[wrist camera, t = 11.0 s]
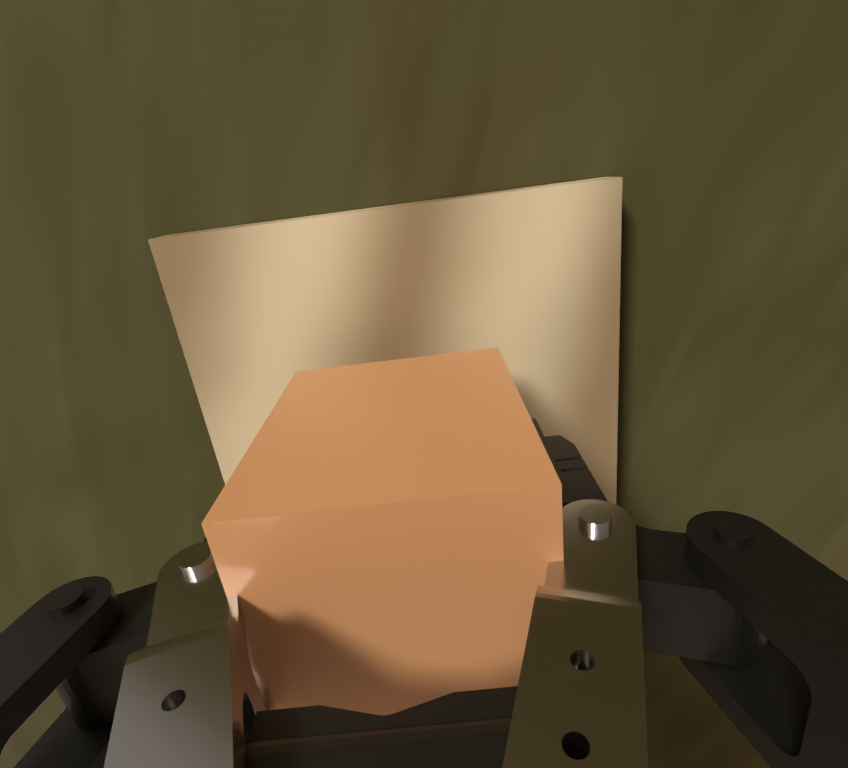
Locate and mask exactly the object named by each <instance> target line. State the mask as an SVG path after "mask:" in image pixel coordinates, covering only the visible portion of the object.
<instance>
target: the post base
mask: <svg viewBox="0 0 848 768" xmlns="http://www.w3.org/2000/svg"><path fill="white" fill-rule="evenodd" d="M621 225H622V177H601V178H593V179H586V180H578V181H571V182H563V183H556V184H548V185H540V186H533V187H525V188H518V189H510V190H503V191H495V192H487V193H480V194H472V195H465V196H457V197H450V198H442V199H434V200H427V201H419V202H412V203H404V204H397V205H389V206H382V207H374V208H366V209H359V210H351V211H344V212H336V213H329V214H321V215H313V216H306V217H298V218H291V219H283V220H276V221H268V222H260V223H253V224H245V225H238V226H230V227H223V228H215V229H208V230H200V231H192V232H185V233H177V234H170V235H165V236H161V237H157V238H152V239H148V242H149V245H150V248H151V251H152V254H153V257H154V261H155V264H156V267H157V270H158V273H159V276H160V280H161V283H162V286H163V289H164V292H165V295H166V299H167V302H168V305H169V308H170V311H171V314H172V318H173V321H174V324H175V327H176V330H177V333H178V337H179V340H180V343H181V346H182V349H183V352H184V356H185V359H186V362H187V365H188V368H189V371H190V375H191V378H192V381H193V384H194V387H195V390H196V394H197V397H198V400H199V403H200V406H201V409H202V413H203V416H204V419H205V422H206V425H207V428H208V432H209V435H210V438H211V441H212V444H213V447H214V451H215V454H216V457H217V460H218V463H219V466H220V470H221V473H222V476H223V479H224V482H225V485H226V483H227V482H228V480H229V479H230V477H231V475H232V474H233V472H234V470H235V469H236V467H237V466H238V464H239V462H240V461H241V459H242V458H243V456H244V454H245V453H246V451H247V449H248V448H249V446H250V445H251V443H252V441H253V440H254V438H255V437H256V435H257V433H258V432H259V430H260V429H261V427H262V425H263V424H264V422H265V420H266V419H267V417H268V416H269V414H270V412H271V411H272V409H273V408H274V406H275V404H276V403H277V401H278V399H279V398H280V396H281V395H282V393H283V391H284V390H285V388H286V387H287V385H288V383H289V382H290V380H291V379H292V377H293V375H294V374H295V372H296V371H305V370H313V369H321V368H330V367H338V366H346V365H355V364H363V363H371V362H380V361H388V360H396V359H405V358H413V357H422V356H430V355H438V354H447V353H455V352H463V351H472V350H480V349H488V348H497V347H498V349H499V351H500V353H501V355H502V358H503V360H504V362H505V364H506V366H507V368H508V370H509V372H510V375H511V377H512V379H513V381H514V383H515V385H516V387H517V390H518V392H519V394H520V396H521V398H522V400H523V402H524V405H525V407H526V409H527V411H528V413H529V415H530V417H531V418H535V419H536V420H537V422H538V424H539V426H540V428H541V430H542V433H543V435H544V437H546V436H555V435H561V436H562V437H564V438H565V439H567V440H568V441H570V442H571V443H573V444H575V446H576V448H577V449H578V451H579V453H580V455H581V456H582V459H583V460H584V461H585V463H586V465H587V467H588V469H589V470H590V472H591V473H592V475H593V477H594V479H595V480H596V482H597V484H598V485H599V487H600V489H601V491H602V492H603V494H604V496H605V497H606V499H607V501H608V502H611V503H614V504H616V487H617V434H618V382H619V330H620V278H621Z"/></svg>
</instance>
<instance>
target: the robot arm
mask: <svg viewBox="0 0 848 768" xmlns="http://www.w3.org/2000/svg"><path fill="white" fill-rule="evenodd" d="M531 420H532V422H533V424H534V426H535V428H536V430H537V432H538V435H539V437H540V439H541V441H542V443H543V445H544V447H545V449H546V452H547V454H548V456H549V458H550V460H551V462H552V464H553V467H554V469H555V471H556V473H557V475H558V477H559V479H560V482H561V484H562V514H563V554H564V560H563V561H554V562H548V566H547V572H546V578H545V583H544V585H538V587H537V590H536V595H535V599H534V605H533V610H532V615H531V620H530V625H529V631H528V636H527V641H526V646H525V651H524V656H523V662H522V667H521V672H520V677H519V682H518V686H513V687H503V688H493V689H482V690H472V691H462V692H453V693H450V694H447V695H444V696H442V697H439V698H436V699H433V700H430V701H427V702H425V703H422V704H419V705H416V706H413V707H410V708H408V709H405V710H402V711H399V712H396V713H393V714H390V715H375V714H369V713H363V712H357V711H351V710H346V709H340V708H334V707H328V706H322V705H317V706H307V707H296V708H286V709H276V710H275V706H274V703H273V700H272V697H271V694H270V691H269V688H268V687H261V688H258V685H257V683H256V680H255V677H254V674H253V671H252V668H251V664H250V660H249V655H248V649H247V642H246V627H245V616H244V613H243V610H242V607H241V604H240V601H239V598H238V595H231V596H226V594H225V591H224V588H223V585H222V582H221V579H220V576H219V573H218V570H217V568H216V565H215V562H214V559H213V556H212V553H211V550H210V547H209V544H208V542H207V539H206V538H205V540H204V541H203V542H200V543H197V544H194V545H192V546H189V547H187V548H185V549H183V550H182V551H180V552H178V553H177V554H175V555H174V556H173V557H172V558H170V559H169V560H168V561H167V562H166V563H165V564H164V566H163V567H162V568H161V570H160V572H159V575H158V579H157V582H154V583H151V584H148V585H145V586H142V587H139V588H136V589H133V590H130V591H127V592H124V593H121V594H117V595H116V594H115V592H114V589H113V587H112V585H111V583H110V581H109V580H108V579H106V578H104V577H99V576H92V577H85V578H81V579H78V580H75V581H72V582H69V583H67V584H65V585H62V586H60V587H58V588H57V589H55V590H53V591H51V592H50V593H48V594H47V595H45V596H44V597H43V598H41V599H40V600H39V601H38V602H36V603H35V604H34V605H33V606H32V607H31V608H29V609H28V610H27V611H26V612H25V613H24V614H22V615H21V616H20V617H19V618H18V619H17V620H15V621H14V622H13V623H12V624H11V625H10V626H9V627H7V628H6V629H5V630H4V631H3V632H2V633H0V754H1V751H2V749H3V747H4V745H5V744H6V742H7V741H8V739H9V738H10V737H11V735H12V734H13V733H14V732H15V731H16V730H17V729H18V728H19V727H20V726H21V725H22V723H23V722H24V721H25V720H26V719H27V718H28V717H29V716H30V715H31V714H32V713H33V712H34V711H35V710H36V709H37V708H38V706H39V705H40V704H41V703H42V702H43V701H44V700H45V699H46V698H47V697H48V696H49V695H50V694H51V693H52V692H53V690H54V689H55V688H56V690H57V692H58V693H59V695H60V697H61V699H62V701H63V702H64V704H65V706H66V709H65V710H64V711H63V713H62V714H61V715H60V716H59V717H58V718H57V719H56V720H55V722H54V723H53V724H52V725H51V726H50V727H49V728H48V730H47V731H46V732H45V733H44V734H43V735H42V736H41V737H40V739H39V740H38V741H37V742H36V743H35V744H34V745H33V746H32V748H31V749H30V750H29V751H28V752H27V753H26V754H25V756H24V757H23V758H22V759H21V760H20V761H19V762H18V763H17V765H16V766H15V767H14V768H649V767H648V744H647V721H646V698H645V675H644V652H643V650H647V651H653V652H658V653H664V654H669V655H675V656H679V657H680V659H681V661H682V662H683V664H684V665H685V666H686V668H687V669H688V670H689V671H690V672H691V674H692V675H693V676H694V677H695V678H696V679H697V681H698V682H699V683H700V684H701V685H702V686H703V688H704V689H705V690H706V691H707V692H708V694H709V695H710V696H711V697H712V698H713V699H714V701H715V702H716V703H717V704H718V705H719V707H720V708H721V709H722V710H723V711H724V712H725V714H726V715H727V716H728V717H729V718H730V719H731V721H732V722H733V723H734V724H735V725H736V727H737V728H738V729H739V730H740V731H741V732H742V734H743V735H744V736H745V737H746V738H747V740H748V741H749V742H750V743H751V744H752V745H753V747H754V748H755V749H756V750H757V751H758V752H759V754H760V755H761V756H762V757H763V758H764V760H765V761H766V762H767V763H768V764H769V765H770V767H771V768H848V581H846V580H845V579H843V578H842V577H840V576H839V575H838V574H836V573H835V572H833V571H832V570H830V569H829V568H827V567H826V566H825V565H823V564H822V563H820V562H819V561H817V560H816V559H814V558H813V557H811V556H810V555H809V554H807V553H806V552H804V551H803V550H801V549H800V548H798V547H797V546H795V545H794V544H793V543H791V542H790V541H788V540H787V539H785V538H784V537H782V536H781V535H779V534H778V533H777V532H775V531H774V530H772V529H771V528H769V527H768V526H766V525H765V524H763V523H761V522H760V521H758V520H755V519H753V518H751V517H748V516H745V515H742V514H738V513H733V512H726V511H710V512H704V513H701V514H698V515H696V516H694V517H693V518H691V519H690V520H689V522H688V524H687V527H686V533H677V532H668V531H659V530H652V529H647V528H643V527H640V526H637V525H636V524H635V521H634V519H633V517H632V516H631V514H630V513H629V512H627V511H626V510H625V509H623V508H622V507H620V506H618V505H616V504H614V503H611V502H608V501H607V499H606V497H605V496H604V494H603V492H602V491H601V489H600V487H599V485H598V484H597V482H596V480H595V479H594V477H593V475H592V473H591V472H590V470H589V469H588V467H587V465H586V463H585V461H584V460H583V459H582V456H581V455H580V453H579V451H578V449H577V448H576V446H575V444H573V443H571V442H570V441H568V440H567V439H565V438H564V437H562V436H561V435H555V436H546V437H544V435H543V433H542V430H541V428H540V426H539V424H538V422H537V420H536V419H535V418H531Z"/></svg>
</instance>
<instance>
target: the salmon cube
mask: <svg viewBox="0 0 848 768" xmlns="http://www.w3.org/2000/svg"><path fill="white" fill-rule="evenodd" d="M202 527H203V530H204V533H205V536H206V539H207V542H208V544H209V547H210V550H211V553H212V556H213V559H214V562H215V565H216V568H217V570H218V573H219V576H220V579H221V582H222V585H223V588H224V591H225V594H226V596H231V595H238V598H239V601H240V604H241V607H242V610H243V613H244V616H245V627H246V642H247V649H248V655H249V660H250V664H251V668H252V671H253V674H254V677H255V680H256V683H257V685H258V688H261V687H268V688H269V691H270V694H271V697H272V700H273V703H274V706H275V710H276V709H286V708H296V707H307V706H317V705H322V706H328V707H334V708H340V709H346V710H351V711H357V712H363V713H369V714H375V715H390V714H393V713H396V712H399V711H402V710H405V709H408V708H410V707H413V706H416V705H419V704H422V703H425V702H427V701H430V700H433V699H436V698H439V697H442V696H444V695H447V694H450V693H453V692H462V691H472V690H482V689H493V688H503V687H513V686H518V682H519V677H520V672H521V667H522V662H523V656H524V651H525V646H526V641H527V636H528V631H529V625H530V620H531V615H532V610H533V605H534V599H535V595H536V590H537V587H538V585H544V583H545V578H546V572H547V566H548V562H554V561H563V560H564V554H563V514H562V484H561V482H560V479H559V477H558V475H557V473H556V471H555V469H554V467H553V464H552V462H551V460H550V458H549V456H548V454H547V452H546V449H545V447H544V445H543V443H542V441H541V439H540V437H539V435H538V432H537V430H536V428H535V426H534V424H533V422H532V420H531V417H530V415H529V413H528V411H527V409H526V407H525V405H524V402H523V400H522V398H521V396H520V394H519V392H518V390H517V387H516V385H515V383H514V381H513V379H512V377H511V375H510V372H509V370H508V368H507V366H506V364H505V362H504V360H503V358H502V355H501V353H500V351H499V349H498V347H497V348H488V349H480V350H472V351H463V352H455V353H447V354H438V355H430V356H422V357H413V358H405V359H396V360H388V361H380V362H371V363H363V364H355V365H346V366H338V367H330V368H321V369H313V370H305V371H296V372H295V374H294V375H293V377H292V379H291V380H290V382H289V383H288V385H287V387H286V388H285V390H284V391H283V393H282V395H281V396H280V398H279V399H278V401H277V403H276V404H275V406H274V408H273V409H272V411H271V412H270V414H269V416H268V417H267V419H266V420H265V422H264V424H263V425H262V427H261V429H260V430H259V432H258V433H257V435H256V437H255V438H254V440H253V441H252V443H251V445H250V446H249V448H248V449H247V451H246V453H245V454H244V456H243V458H242V459H241V461H240V462H239V464H238V466H237V467H236V469H235V470H234V472H233V474H232V475H231V477H230V479H229V480H228V482H227V483H226V485H225V487H224V488H223V490H222V491H221V493H220V495H219V496H218V498H217V499H216V501H215V503H214V504H213V506H212V508H211V509H210V511H209V512H208V514H207V516H206V517H205V519H204V520H203V522H202Z"/></svg>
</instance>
